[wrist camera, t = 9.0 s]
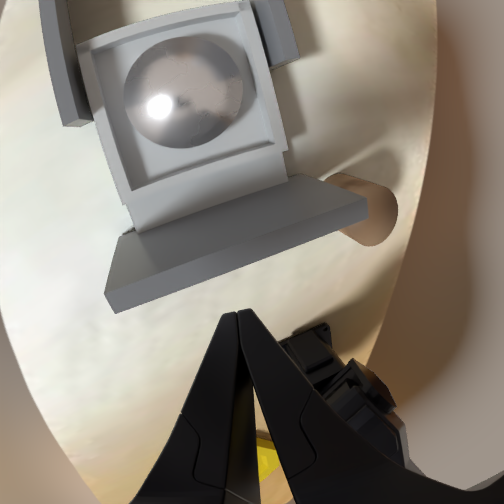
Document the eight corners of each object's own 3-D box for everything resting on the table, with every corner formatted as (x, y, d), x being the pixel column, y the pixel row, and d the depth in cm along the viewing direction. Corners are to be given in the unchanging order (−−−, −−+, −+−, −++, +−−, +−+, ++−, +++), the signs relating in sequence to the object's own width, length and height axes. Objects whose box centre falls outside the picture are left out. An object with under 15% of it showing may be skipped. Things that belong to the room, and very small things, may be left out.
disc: (221, 33, 16) (227, 26, 14) (247, 129, 19) (254, 129, 17) (114, 62, 15) (111, 57, 13) (143, 162, 18) (142, 165, 16)
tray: (303, 188, 23) (368, 218, 16) (125, 251, 20) (115, 314, 13) (259, 8, 16) (311, -38, 9) (62, 62, 14) (17, 30, 7)
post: (361, 216, 26) (398, 234, 21) (319, 232, 25) (353, 255, 21) (355, 168, 24) (395, 179, 19) (311, 181, 23) (347, 195, 19)
